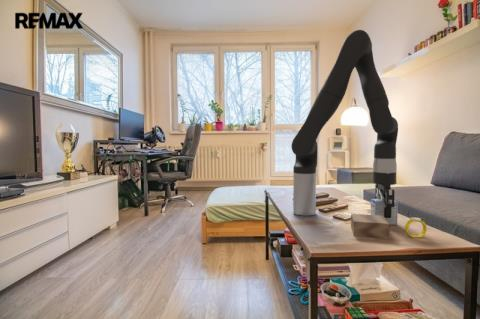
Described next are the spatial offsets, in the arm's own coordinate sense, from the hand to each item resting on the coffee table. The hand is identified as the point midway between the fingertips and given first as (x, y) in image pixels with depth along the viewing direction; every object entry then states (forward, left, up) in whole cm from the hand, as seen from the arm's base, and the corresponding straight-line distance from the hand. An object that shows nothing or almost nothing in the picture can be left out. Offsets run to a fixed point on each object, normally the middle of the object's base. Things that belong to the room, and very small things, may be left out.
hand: (383, 214), depth 99 cm
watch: (+5, -14, -3) cm, 15 cm away
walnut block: (-8, -12, -3) cm, 15 cm away
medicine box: (0, 0, -3) cm, 3 cm away
